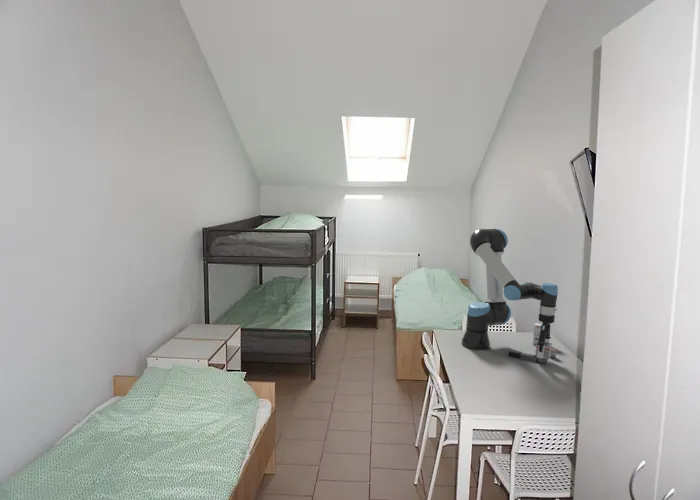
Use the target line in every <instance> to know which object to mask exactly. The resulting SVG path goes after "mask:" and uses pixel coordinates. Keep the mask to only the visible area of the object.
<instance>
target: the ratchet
mask: <svg viewBox="0 0 700 500" xmlns="http://www.w3.org/2000/svg"><path fill="white" fill-rule="evenodd" d="M535 355H536V354H530V353H527V352H522V351H519V350H514V349H509V350H508V357H509V358H516V359H521V360H525V361H530V362H534V363H537V364H539V365H548V364H549V363H548V361H549V360H547V359H542V358H537V357H535Z"/></svg>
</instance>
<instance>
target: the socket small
mask: <svg viewBox="0 0 700 500" xmlns="http://www.w3.org/2000/svg"><path fill="white" fill-rule="evenodd" d="M557 352H558V351H557V348H555V347H552V349H551V357H550V358H549V359H556V358H557Z"/></svg>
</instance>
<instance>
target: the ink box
mask: <svg viewBox="0 0 700 500" xmlns="http://www.w3.org/2000/svg"><path fill="white" fill-rule="evenodd" d="M542 324H543V323H537V322H536V323H534V326H533V327H534V329H533V335H532V336H533V337H532V346H537V343H538V342H539V336H540V331H541V325H542ZM550 329H551V326H550Z"/></svg>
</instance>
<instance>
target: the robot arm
mask: <svg viewBox="0 0 700 500" xmlns="http://www.w3.org/2000/svg"><path fill="white" fill-rule="evenodd" d="M508 241H509V239H508V236H507V234H506V232H504V230H502V229H499V228H479V229H477V230H474V231H473V233H472V234H471V235H470V239H469V244H470V248H471V250H472V251H473V252H474V253H473V254H475V255H476V256H478V257H479V258H480V259H481V260H482V262H483V263H484V264H485V271H486V292H487V293H486V295H487V298H486V299H485V300H484V302H481V301H480V302H472V303H470V304H469V305H468V309H467V310H466V311H467V312H466V313H467V314H466V327H465V332H464V334H463V337H462V338H461V345H462V346H463V347H466V348H468V349H473V350H488V349H490V346H491V342H490V338H489V333H488V332H489V327H491V326H501V325H504V324H506V323H508V322H509V321H510V319H511V317H512V310H511V307H510V305H508V304H507V300H508V301H520V300H529V299H534V300H537V301H540V302H539V311H538V312H539V313H538V321H539V322H541V324H542V325H541V331H540V336H539V342H538V343H537V345H538V354H537V358H542V359H543V354H544V343H545V342H548V343H550V340H551V339H552V337H551V328H550V327H551V324H554V323H555V318H556V317H555V314H556V312H557V311H558V309H557V308H556V307H557V300H558V294H559V293H558V292H559V291H558V290H559V288H558V285H557V284H555V283H550V282H545V283H544V282H543V283H542V285H539V284H535V283H533V282H527V281H526V282H524V283H522V284H520V282H518V281H517V279H516V278H515V277H514V276H513V274H512V273H511V272H510V270H509V269H508V268H507V267H506V265H505V264H504V262H502V255H503V254H504V253H505V248H506V247H507V245H508ZM537 345H536V346H537Z"/></svg>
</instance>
